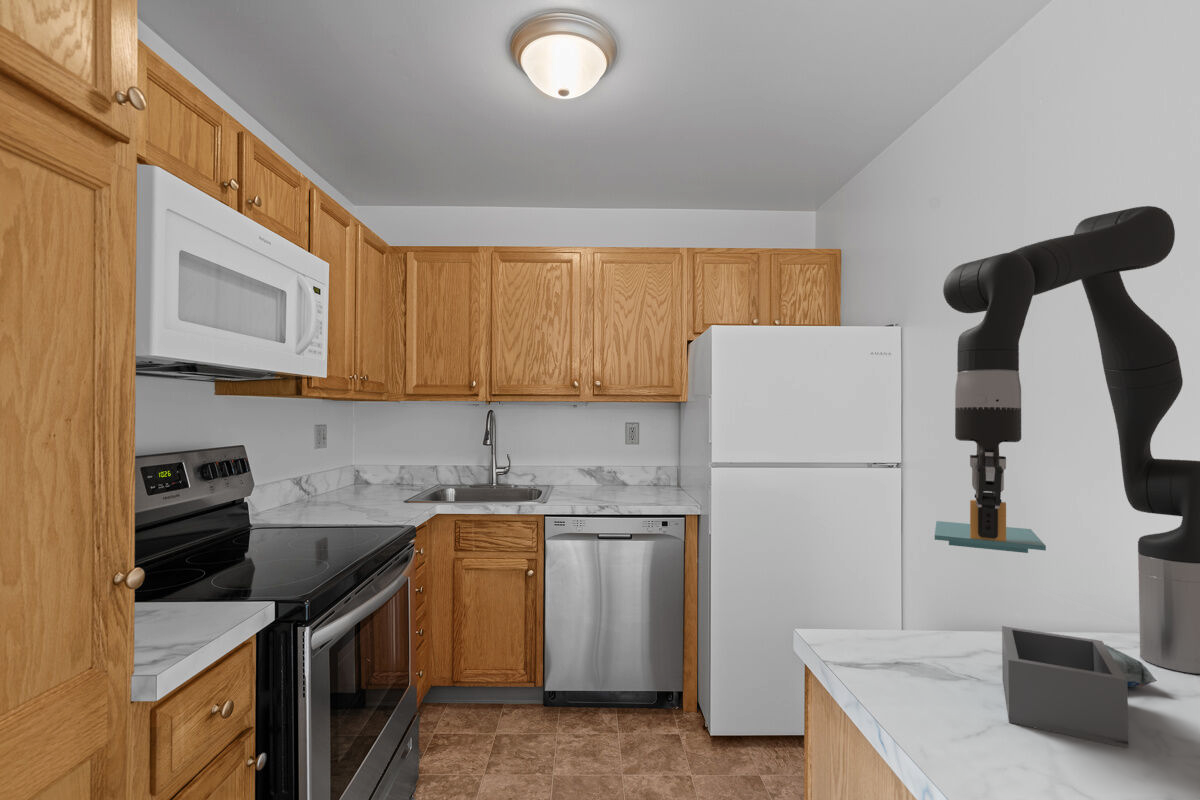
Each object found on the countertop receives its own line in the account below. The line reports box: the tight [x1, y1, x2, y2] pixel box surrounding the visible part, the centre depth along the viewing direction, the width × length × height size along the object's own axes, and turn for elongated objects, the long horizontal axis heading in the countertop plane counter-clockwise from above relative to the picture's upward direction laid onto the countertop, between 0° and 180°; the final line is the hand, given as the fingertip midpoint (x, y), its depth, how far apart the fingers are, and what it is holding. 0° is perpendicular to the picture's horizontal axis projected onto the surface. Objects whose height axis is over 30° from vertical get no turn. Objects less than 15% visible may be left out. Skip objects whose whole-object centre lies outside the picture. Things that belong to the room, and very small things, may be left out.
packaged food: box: [1104, 643, 1158, 688], centre depth 96 cm, size 9×12×5 cm
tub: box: [1001, 625, 1129, 749], centre depth 85 cm, size 16×12×8 cm
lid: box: [934, 499, 1047, 554], centre depth 89 cm, size 16×12×6 cm
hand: (987, 536), depth 83 cm, fingers closed on lid, 1 cm apart
